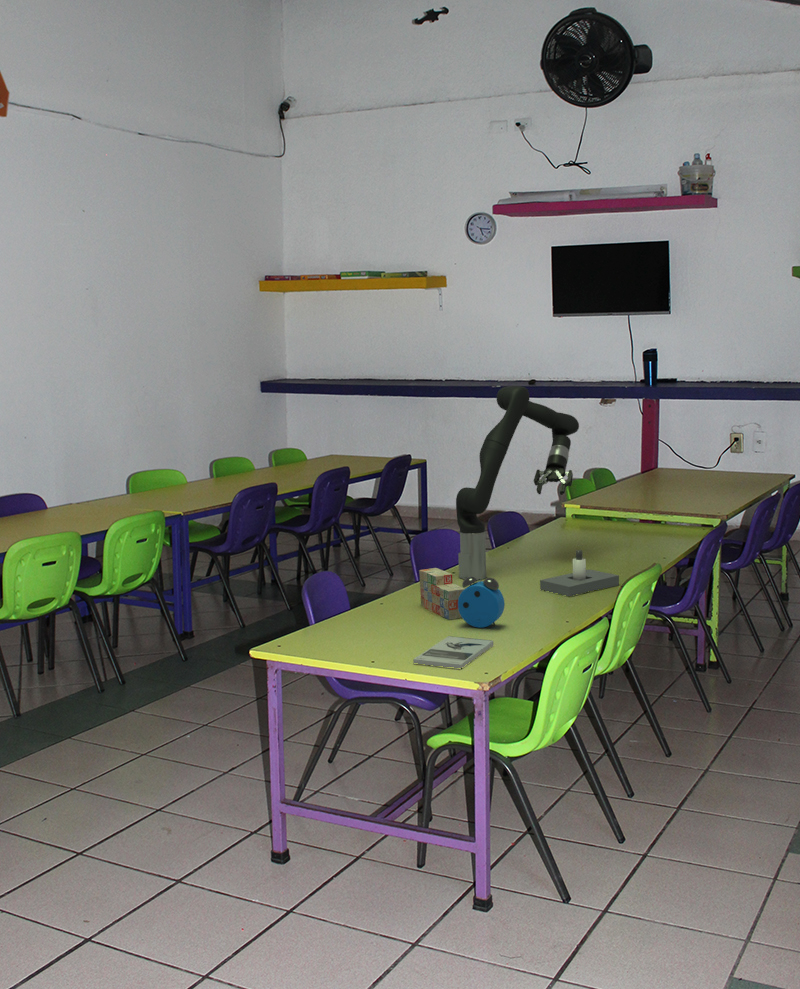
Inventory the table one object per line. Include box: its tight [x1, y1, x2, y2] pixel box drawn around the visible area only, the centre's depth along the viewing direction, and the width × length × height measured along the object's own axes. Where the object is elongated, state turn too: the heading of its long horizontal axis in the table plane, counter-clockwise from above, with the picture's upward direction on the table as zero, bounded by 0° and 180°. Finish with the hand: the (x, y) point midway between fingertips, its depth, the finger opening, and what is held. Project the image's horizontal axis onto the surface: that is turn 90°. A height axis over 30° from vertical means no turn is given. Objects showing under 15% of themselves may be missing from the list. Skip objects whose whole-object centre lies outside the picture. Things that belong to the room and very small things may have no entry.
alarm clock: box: [458, 577, 505, 629], centre depth 297 cm, size 13×6×15 cm, turn 65°
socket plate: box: [539, 568, 620, 597], centre depth 341 cm, size 24×14×4 cm, turn 125°
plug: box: [572, 549, 587, 581], centre depth 341 cm, size 4×4×13 cm
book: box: [412, 635, 494, 668], centre depth 271 cm, size 23×14×2 cm, turn 153°
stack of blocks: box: [418, 567, 466, 620], centre depth 317 cm, size 21×6×12 cm, turn 23°
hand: (549, 493), depth 370 cm, fingers open, 8 cm apart
